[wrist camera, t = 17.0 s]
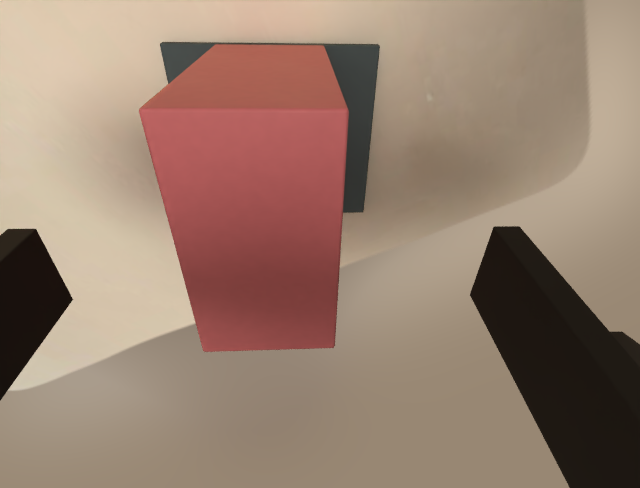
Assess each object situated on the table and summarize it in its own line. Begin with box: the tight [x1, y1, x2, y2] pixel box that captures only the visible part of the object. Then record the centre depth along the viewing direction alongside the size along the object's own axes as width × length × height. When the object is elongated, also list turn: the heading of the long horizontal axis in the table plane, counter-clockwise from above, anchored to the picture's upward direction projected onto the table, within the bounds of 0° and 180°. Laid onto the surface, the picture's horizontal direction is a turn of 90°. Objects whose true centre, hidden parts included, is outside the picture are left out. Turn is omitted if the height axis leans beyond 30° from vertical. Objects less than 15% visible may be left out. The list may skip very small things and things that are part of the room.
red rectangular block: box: [139, 44, 349, 352], centre depth 15 cm, size 5×9×10 cm, turn 179°
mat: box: [160, 42, 380, 212], centre depth 20 cm, size 10×9×1 cm
